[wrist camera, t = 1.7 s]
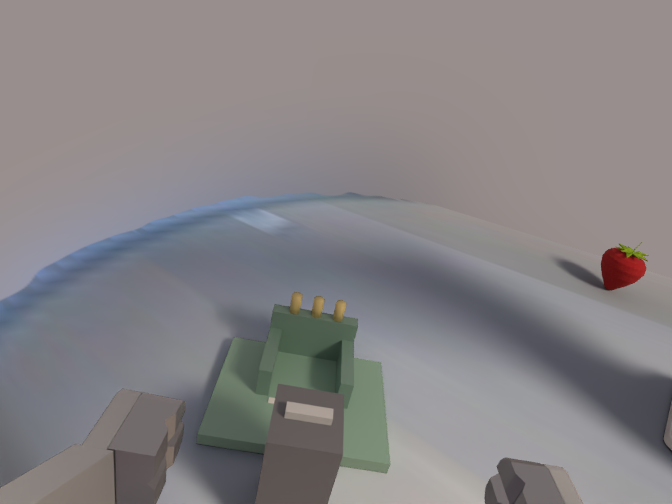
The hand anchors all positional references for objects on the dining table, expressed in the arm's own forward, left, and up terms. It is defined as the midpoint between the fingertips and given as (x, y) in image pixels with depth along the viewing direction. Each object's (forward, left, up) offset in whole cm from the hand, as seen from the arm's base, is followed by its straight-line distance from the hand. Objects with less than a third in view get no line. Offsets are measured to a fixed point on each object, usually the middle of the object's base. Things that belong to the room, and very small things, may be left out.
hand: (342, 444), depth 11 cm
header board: (-19, -11, -23) cm, 31 cm away
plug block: (-10, -6, -23) cm, 25 cm away
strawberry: (-77, +16, -23) cm, 82 cm away
